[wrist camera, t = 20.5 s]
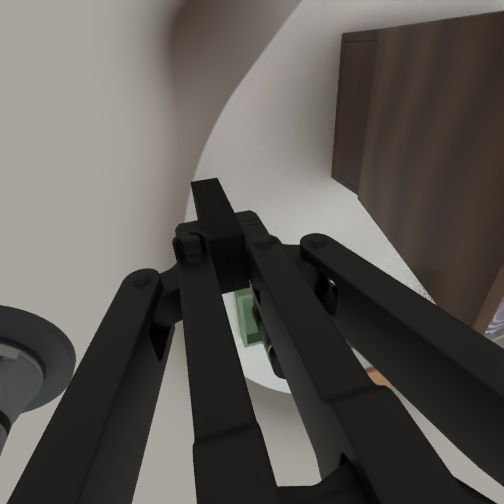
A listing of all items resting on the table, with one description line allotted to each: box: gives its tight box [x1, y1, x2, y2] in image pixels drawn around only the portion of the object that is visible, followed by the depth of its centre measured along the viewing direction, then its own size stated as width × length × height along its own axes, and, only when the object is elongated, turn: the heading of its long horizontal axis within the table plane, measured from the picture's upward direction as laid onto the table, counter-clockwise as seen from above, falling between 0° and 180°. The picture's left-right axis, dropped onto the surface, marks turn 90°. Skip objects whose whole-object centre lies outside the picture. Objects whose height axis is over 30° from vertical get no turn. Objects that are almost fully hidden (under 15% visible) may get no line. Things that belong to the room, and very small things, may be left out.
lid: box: [358, 11, 504, 336], centre depth 22 cm, size 20×16×1 cm
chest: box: [331, 29, 380, 195], centre depth 35 cm, size 20×16×7 cm
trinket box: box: [350, 347, 391, 388], centre depth 60 cm, size 11×11×9 cm
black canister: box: [252, 304, 286, 379], centre depth 45 cm, size 7×7×11 cm
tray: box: [235, 283, 263, 348], centre depth 49 cm, size 11×11×3 cm
